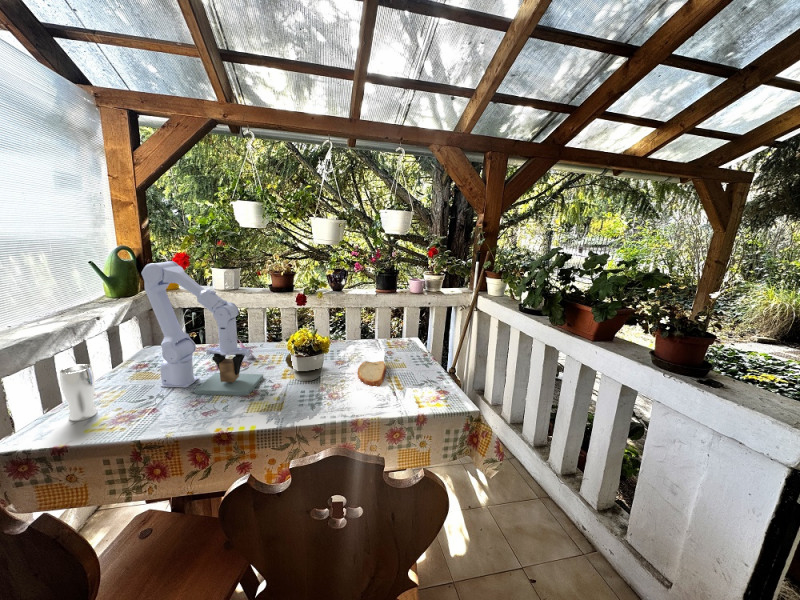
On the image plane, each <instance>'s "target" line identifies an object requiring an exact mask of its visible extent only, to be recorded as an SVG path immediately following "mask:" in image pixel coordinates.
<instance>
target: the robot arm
mask: <svg viewBox="0 0 800 600" xmlns="http://www.w3.org/2000/svg"><path fill="white" fill-rule="evenodd" d="M140 275H141V276H142V279H143V281H144V285H143V286H144V291H145V293H146V296H147V298H148V301H149V304H150V306H151V308H152V310H153V312H154V315H155V318H156V321H157V322H158V325H159V328H160V329H161V332H162V334H163V339H162V342H161V344H160V347H161V349H162V350H161V357H162V358H163V361H162V362H161V365H160V368H159V369H160V380H161V381H160V382H161V384H160V388H166V387H167V388H188V387H190V386H191V385H192V384H193V383H194V382H196V381H197V380H199V379H200V376H194V375H195V374H194V364H193V357H194V355H193V354H194V353H195V352H196V348H197V346H196V343H195V342H194V340H193V339H192V338H191V337H190V334H189V333H187V332H184V331H183V330H182V327H181V325H180V322H179V320H178V317H177V315H176V313H175V310H174V308H173V305H172V303H171V301H170V298H169V296H168V293H167V291H166V290H167V289H168V287H169V285H170V284H177V285H179V286H180V287H181V288H182V289H184V290H186V291H188V292H189V293H190V294H192V295H193V296H194V297H196V300H197V303H198V304H200V305H201V306H202V307H204V308H205V309H206V310H207V311H208V312H210V313H212V316H213V319H214V320H215V321H216V324H217V329H218V330H217V332H218V347H209V348H207V349H206V355H207V356H209V355H210V356H211V355H213V356H212V359H211V360H212V361H213V362H214V363H215V364H216V366H217V368H218V370H219V371H220V369H219V363H220V362H222V361H223V360H224V359H225V358H226V356H227V355H228V356H233V357H232V358H231V359H232V360H233V363H234V368H235V375H238V374H241V373H240V372H241V368H242V363H243V361H244V358H245V357H249V356H250V355H251V353H250V349H251V348H250V349H244V348H240V347H238V339H237V338H238V333H237V319H236V317H238V315H239V307H238V306H237V305H236V304H235V303H233V302H228V301H227V300H226V299H224V298H222V297H221V296H219V295H218V294H217V292H216V291H215V290H211V289H204V288H203V286H201V285H200V284H199V283H198V282H196V280H194V279H193V278H192V277H191V276H190V275H189V274H188V273H186V272H185V270H184V268H183V267H182V266H181V265H179V264H178V263H177V262H175V261H173V260H168V261H164V262H155V263H153V262H152V263H151V262H150V263H147V264H146V265H145V266H144V267H143V269H142V271H141V274H140Z"/></svg>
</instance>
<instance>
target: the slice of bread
mask: <svg viewBox="0 0 800 600" xmlns="http://www.w3.org/2000/svg"><path fill="white" fill-rule="evenodd" d="M356 373H357V378H358V380H359V379H360V380H359V381H360V382H361V383H362V382H363V384H364V385H366V386H368V385H369V387H373V386H377V387H381V386H382V385H383V383H384V380H385V376H386V373H387V367H386V364H385V361H383V360H380V361H374V362H373V361H368V360H367V361H363V362H362V363H361V364H360V365H359V366H358V369H357V372H356ZM381 384H382V385H381ZM380 385H381V386H380Z"/></svg>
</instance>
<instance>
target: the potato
mask: <svg viewBox="0 0 800 600" xmlns="http://www.w3.org/2000/svg"><path fill="white" fill-rule="evenodd" d="M285 362H286V364H287V367H289V369H292V370H294V369H293V366H292V361H291V355H290V353H288V354H287V356H286V357H285Z"/></svg>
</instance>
